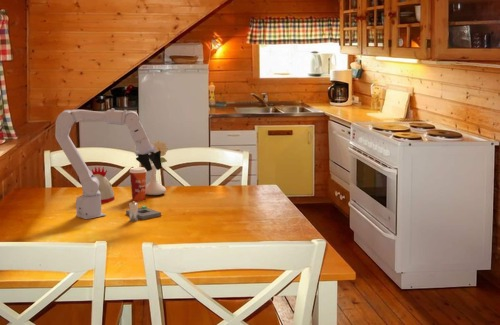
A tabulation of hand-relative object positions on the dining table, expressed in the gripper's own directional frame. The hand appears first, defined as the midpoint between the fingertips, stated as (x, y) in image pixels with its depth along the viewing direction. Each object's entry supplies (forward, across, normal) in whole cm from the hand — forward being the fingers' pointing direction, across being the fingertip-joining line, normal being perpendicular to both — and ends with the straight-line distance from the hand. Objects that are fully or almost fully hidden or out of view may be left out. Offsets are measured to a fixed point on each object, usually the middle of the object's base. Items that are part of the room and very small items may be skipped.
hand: (154, 169), depth 282 cm
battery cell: (+14, +1, +18) cm, 23 cm away
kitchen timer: (+8, +40, +9) cm, 42 cm away
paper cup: (+14, +30, -4) cm, 33 cm away
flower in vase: (+17, +33, -14) cm, 40 cm away
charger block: (+15, +5, +10) cm, 19 cm away
